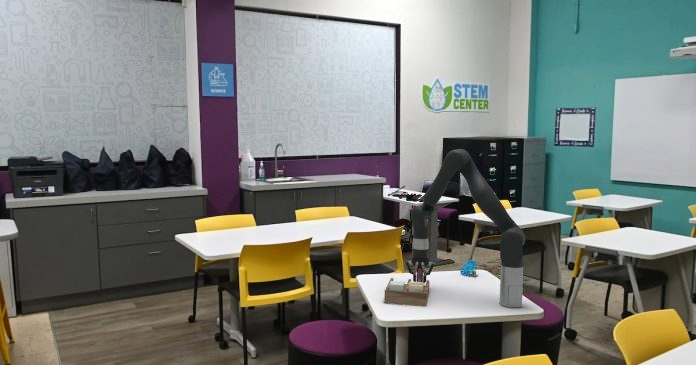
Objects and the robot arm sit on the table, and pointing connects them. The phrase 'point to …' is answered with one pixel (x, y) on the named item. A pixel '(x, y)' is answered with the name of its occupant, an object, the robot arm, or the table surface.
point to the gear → (469, 268)
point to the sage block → (396, 286)
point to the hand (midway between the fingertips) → (419, 282)
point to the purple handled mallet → (419, 284)
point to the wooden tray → (407, 295)
